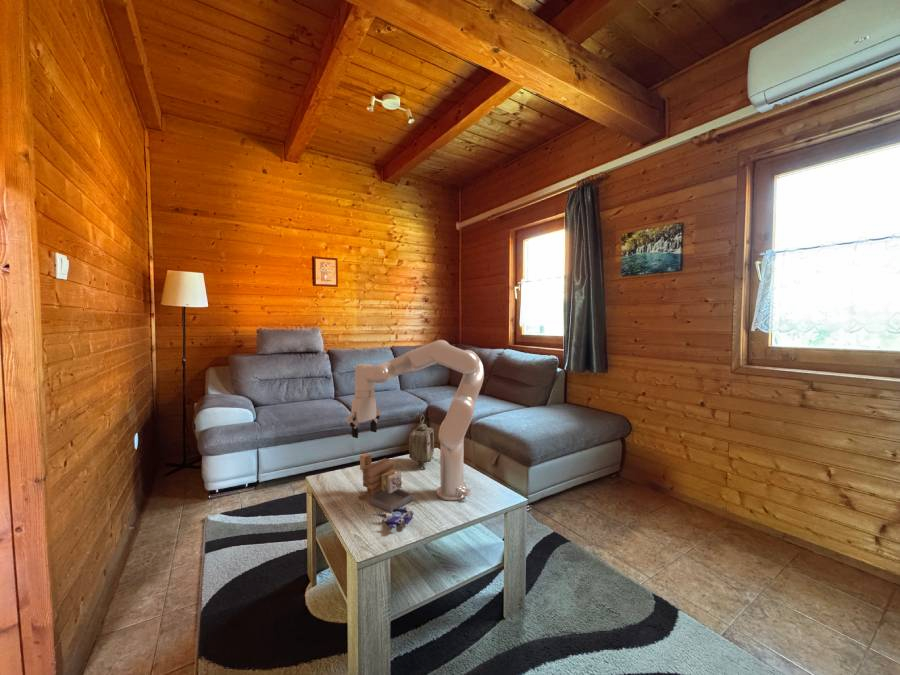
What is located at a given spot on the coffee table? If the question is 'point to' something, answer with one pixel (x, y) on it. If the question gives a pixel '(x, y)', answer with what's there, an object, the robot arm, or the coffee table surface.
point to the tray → (391, 500)
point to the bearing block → (374, 478)
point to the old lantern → (421, 443)
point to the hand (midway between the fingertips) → (364, 434)
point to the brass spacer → (383, 479)
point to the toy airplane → (397, 517)
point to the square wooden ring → (390, 482)
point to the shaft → (366, 460)
